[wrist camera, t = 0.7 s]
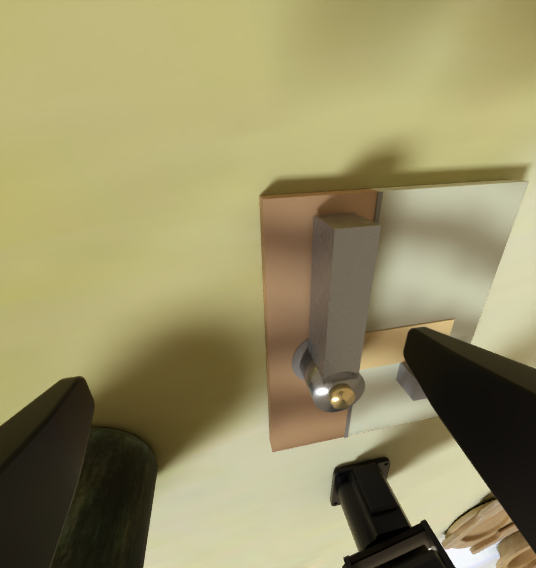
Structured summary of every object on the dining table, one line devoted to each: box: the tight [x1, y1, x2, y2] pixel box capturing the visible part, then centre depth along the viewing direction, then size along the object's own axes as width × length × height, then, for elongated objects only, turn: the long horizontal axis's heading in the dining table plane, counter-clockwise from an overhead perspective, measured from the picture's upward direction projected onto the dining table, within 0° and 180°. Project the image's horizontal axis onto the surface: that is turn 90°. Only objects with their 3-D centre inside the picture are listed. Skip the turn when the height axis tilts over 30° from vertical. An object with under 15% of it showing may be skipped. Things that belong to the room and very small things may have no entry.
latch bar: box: [300, 212, 381, 412], centre depth 18 cm, size 13×4×4 cm, turn 2°
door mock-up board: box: [259, 179, 529, 452], centre depth 21 cm, size 22×18×4 cm
